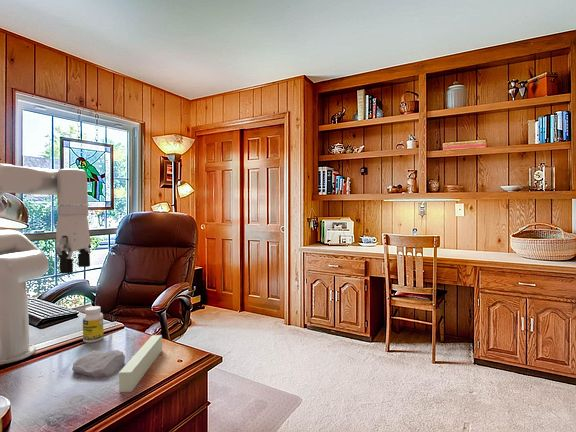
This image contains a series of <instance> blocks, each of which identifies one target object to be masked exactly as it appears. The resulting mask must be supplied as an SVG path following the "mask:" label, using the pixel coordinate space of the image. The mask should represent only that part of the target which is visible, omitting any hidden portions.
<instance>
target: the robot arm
mask: <svg viewBox="0 0 576 432" xmlns="http://www.w3.org/2000/svg"><path fill="white" fill-rule="evenodd" d="M7 193H9V194H10V193H11V194H22V195H43V196H45V195H47V196H57V197H56V198H57V216H58V217H57V220H56V233H55V237H56V238H55V245H54V246H55V250H56V254H57V256H58V257H57V258H58V260H59V273H60V274H62V275H63V274H72V273H74V264H73V261H74V259H73V258H72V255H73V254H74V253H73V252H77V251H78V254H77V260H78V264H77V265H78V267H79V268H89V267H90V266H91V257H90V254H91V246H92V245H91V243H92V238H91V237H90V227H89V220H88V217H89V199H88V198H89V197H88V196H89V195H88V175H87V172H86V171H85V170H84V169H79V168H61V169H52V168H51V169H50V168H44V167H43V168H41V167H32V166H31V167H29V166H19V165H18V166H17V165H13V164H9V163H0V199H1V198H3V196H5V195H6V194H7ZM49 264H50V262H49V259H48V258H47V256H46V254H45V253H44V252H43V251H42V250H41V249H40V248H39V247H38V246H37V245H36V244H34V242H32V241H31V240H30V239H29V238H28V237H27V236H25V234H23V233H21V232H20V231H18V230H14V229H0V365H5V364H10V363H15V362H18V361H21V360H24V359H26V358H29V357H30V356H32V355H33V354H35V352H36V349H37V348H36V345H34V344H31V343H30V325H29V324H30V323H29V321H30V320H29V298H28V297H29V296H28V294H27V292H26V290H25V288H24V287H23V286H22V285H21V284H22V283H23V282H26V281H27V282H28V281H32V280H35V279H38V278H41V277H43V276H44V275H45V274H46V273H47V272H48V270H49V267H50V265H49Z"/></svg>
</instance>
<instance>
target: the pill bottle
mask: <svg viewBox="0 0 576 432" xmlns="http://www.w3.org/2000/svg"><path fill="white" fill-rule="evenodd" d="M101 311H102V310H101V306H99V305H95V306H92V305H91V306H88V307H86V308H85V309H84V313H85V314H84V315H83V316H82V340H83V342H84V343H95V342H99V341H102V339H104V314H103V312H101Z"/></svg>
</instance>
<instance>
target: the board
mask: <svg viewBox="0 0 576 432" xmlns="http://www.w3.org/2000/svg"><path fill="white" fill-rule="evenodd" d="M162 351H163V335H162V334H160V335H159V334H157V335H150V337H149V338H148V340H146V342H145V343H144V344H143V345H142V346H141V347H140V348H139V350H138V351H136V353H135V354H134V355H133V356H132V358H130V360H129V361H127V362H126V364H125V365H124V366H123V368H121V369H120V371H119V372H118V388H119V389H118V391H119V393H129V392H130V393H132V392H133V390H134V389H135V388H136V386H138V384H139V383H140V381H141V379H142V378H143V377H144V375H145V374H146V373H147V371H148V370H149V369H150V367H151V366H152V364H154V363H155V361H156V360H157V358H158V357H159V355H160V354H161V353H162Z"/></svg>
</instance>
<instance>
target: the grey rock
mask: <svg viewBox="0 0 576 432" xmlns="http://www.w3.org/2000/svg"><path fill="white" fill-rule="evenodd" d="M125 359H126V356H125V354H124V352H123V351H122V350H121V351H120V350H118V349H114V350H108V351H105V352H104V351H99V350H97V349H94V350H91V351H90V352H88V353H86V354H83V355H82V356H80V357H78V358H77V359H76V360H75V361H74V362H73V363H72V371H73V373H76V374H80V375H84V376H88V377H91V378H103V377H109V376H112V374H114V373H115V372H116V371H118V369H120V368H121V367H122V366H123V365H124V364H125V361H126V360H125Z"/></svg>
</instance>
